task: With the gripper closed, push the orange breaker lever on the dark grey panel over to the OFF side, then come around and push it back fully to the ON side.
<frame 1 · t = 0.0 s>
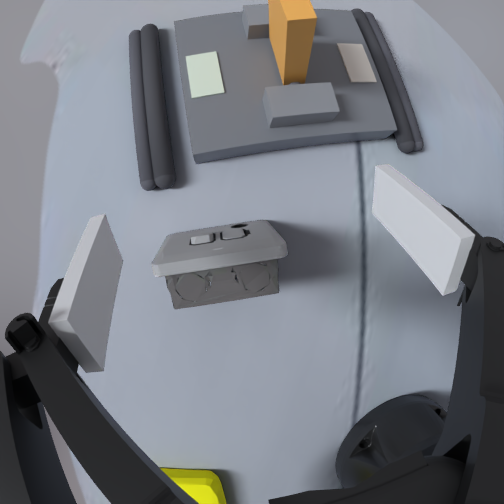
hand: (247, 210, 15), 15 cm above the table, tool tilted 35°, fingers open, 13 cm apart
electrical switch: (223, 255, 30), on the table
cable bundle 2: (156, 99, 30), on the table
breaker lever: (288, 31, 22), point 9 cm above the table, hinge at 8.0°
breaker panel: (280, 79, 31), on the table
cable bundle 1: (378, 76, 31), on the table
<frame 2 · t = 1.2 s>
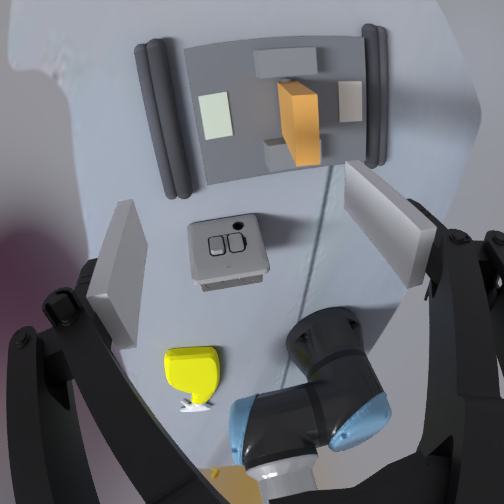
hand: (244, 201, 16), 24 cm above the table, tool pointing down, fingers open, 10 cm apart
electrical switch: (224, 233, 45), on the table
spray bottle: (193, 379, 65), on the table
cable bundle 2: (169, 119, 34), on the table
breaker lever: (296, 116, 28), point 9 cm above the table, hinge at 8.0°
breaker panel: (279, 101, 35), on the table
cable bundle 1: (368, 96, 36), on the table
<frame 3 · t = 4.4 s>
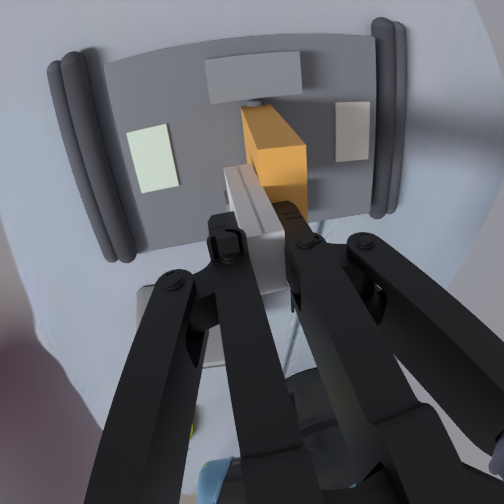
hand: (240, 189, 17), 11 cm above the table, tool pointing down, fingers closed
electrical switch: (185, 297, 35), on the table
cable bundle 2: (100, 161, 25), on the table
breaker lever: (268, 167, 19), point 9 cm above the table, hinge at 3.6°, touching gripper
breaker panel: (250, 131, 26), on the table
cable bundle 1: (378, 120, 27), on the table
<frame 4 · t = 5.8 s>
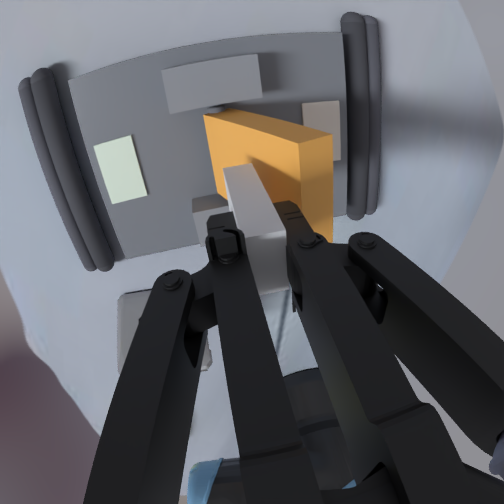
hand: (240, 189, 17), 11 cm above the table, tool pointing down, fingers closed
electrical switch: (166, 303, 35), on the table
cable bundle 2: (74, 173, 25), on the table
breaker lever: (258, 168, 19), point 8 cm above the table, hinge at -21.2°
breaker panel: (218, 136, 25), on the table
cable bundle 1: (352, 119, 26), on the table
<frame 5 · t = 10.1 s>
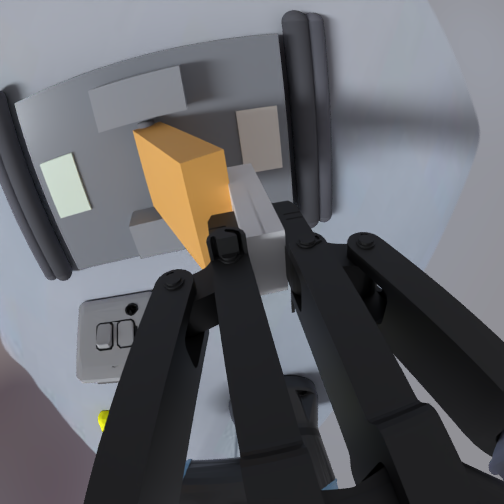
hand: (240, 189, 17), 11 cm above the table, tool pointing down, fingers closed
electrical switch: (125, 310, 35), on the table
cable bundle 2: (30, 188, 24), on the table
breaker lever: (176, 183, 19), point 8 cm above the table, hinge at -20.5°, touching gripper
breaker panel: (159, 148, 25), on the table
cable bundle 1: (300, 123, 26), on the table
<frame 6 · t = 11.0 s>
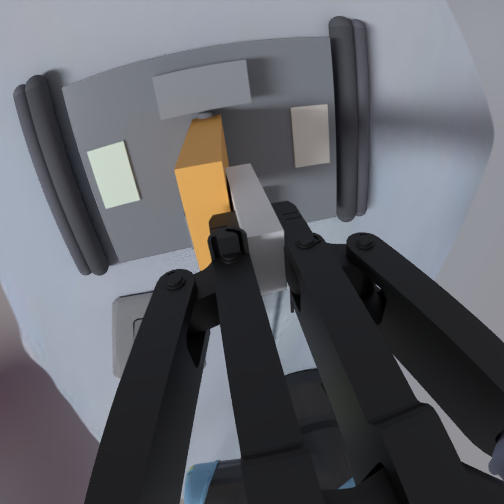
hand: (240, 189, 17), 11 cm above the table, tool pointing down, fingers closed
electrical switch: (160, 306, 35), on the table
cable bundle 2: (68, 178, 25), on the table
breaker lever: (212, 180, 19), point 9 cm above the table, hinge at 6.1°, touching gripper
breaker panel: (209, 141, 26), on the table
cable bundle 1: (341, 122, 27), on the table
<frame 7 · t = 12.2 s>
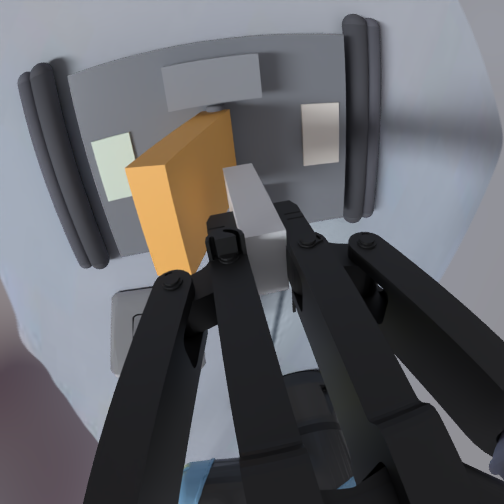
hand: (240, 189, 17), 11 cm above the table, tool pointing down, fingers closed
electrical switch: (160, 302, 35), on the table
cable bundle 2: (70, 169, 24), on the table
breaker lever: (198, 177, 18), point 8 cm above the table, hinge at 21.8°
breaker panel: (216, 136, 25), on the table
cable bundle 1: (351, 121, 26), on the table
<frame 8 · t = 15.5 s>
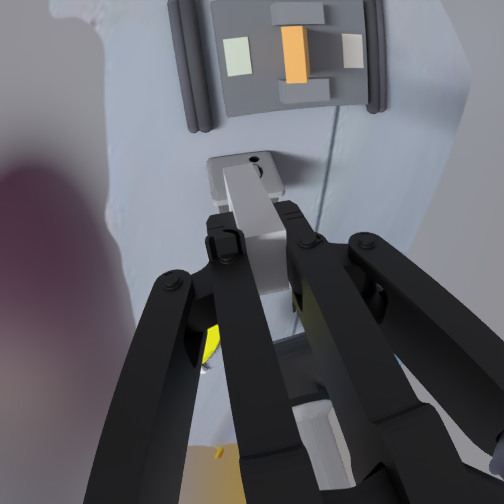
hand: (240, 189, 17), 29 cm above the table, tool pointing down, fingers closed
electrical switch: (240, 170, 47), on the table
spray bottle: (194, 336, 67), on the table
cable bundle 2: (195, 62, 37), on the table
breaker lever: (298, 52, 31), point 8 cm above the table, hinge at 21.8°
breaker panel: (291, 51, 38), on the table
cable bundle 1: (368, 51, 38), on the table
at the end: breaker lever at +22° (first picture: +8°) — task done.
